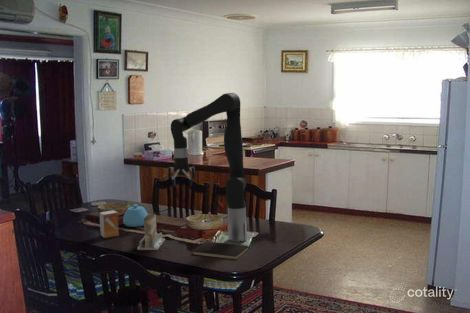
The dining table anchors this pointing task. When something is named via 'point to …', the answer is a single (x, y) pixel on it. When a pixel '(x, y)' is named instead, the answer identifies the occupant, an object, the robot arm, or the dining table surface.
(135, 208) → the sugar bowl
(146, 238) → the beige mottled box
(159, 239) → the grey plastic bag
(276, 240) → the dining table surface
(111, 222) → the small box
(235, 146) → the robot arm
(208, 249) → the hardcover book
